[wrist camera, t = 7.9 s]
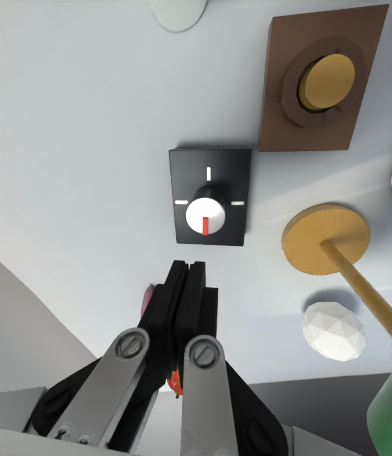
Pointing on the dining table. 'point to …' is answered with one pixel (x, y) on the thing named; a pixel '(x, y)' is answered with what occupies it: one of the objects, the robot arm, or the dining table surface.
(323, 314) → the geometric ball
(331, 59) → the button
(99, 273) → the dining table surface
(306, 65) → the switch block
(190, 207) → the dimmer knob
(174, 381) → the pomegranate
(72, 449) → the robot arm
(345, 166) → the dining table surface
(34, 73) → the dining table surface
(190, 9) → the beer glass
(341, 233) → the desk lamp
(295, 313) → the dining table surface
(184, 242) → the dimmer panel
